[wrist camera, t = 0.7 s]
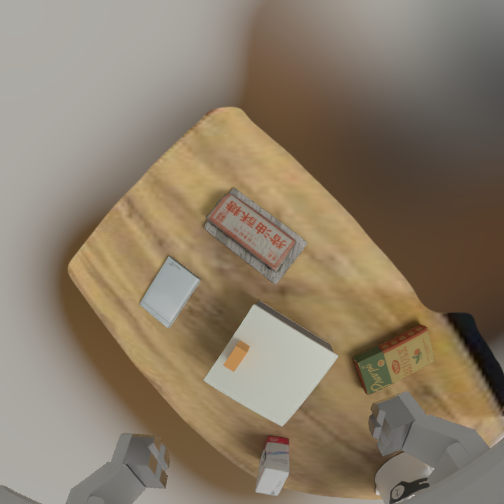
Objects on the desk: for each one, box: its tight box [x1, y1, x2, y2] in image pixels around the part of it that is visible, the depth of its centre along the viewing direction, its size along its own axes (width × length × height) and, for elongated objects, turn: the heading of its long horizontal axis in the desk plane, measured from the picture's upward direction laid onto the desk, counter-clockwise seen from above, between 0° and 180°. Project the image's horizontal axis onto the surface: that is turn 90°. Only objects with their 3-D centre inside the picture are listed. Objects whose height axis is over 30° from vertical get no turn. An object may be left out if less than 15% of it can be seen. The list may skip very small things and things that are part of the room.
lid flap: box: [203, 304, 338, 427], centre depth 43 cm, size 17×17×4 cm
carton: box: [353, 325, 435, 395], centre depth 49 cm, size 8×16×4 cm, turn 112°
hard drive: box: [140, 256, 201, 328], centre depth 56 cm, size 2×8×12 cm
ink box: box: [255, 436, 289, 496], centre depth 47 cm, size 9×5×12 cm, turn 167°
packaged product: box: [205, 188, 307, 285], centre depth 53 cm, size 18×5×10 cm
